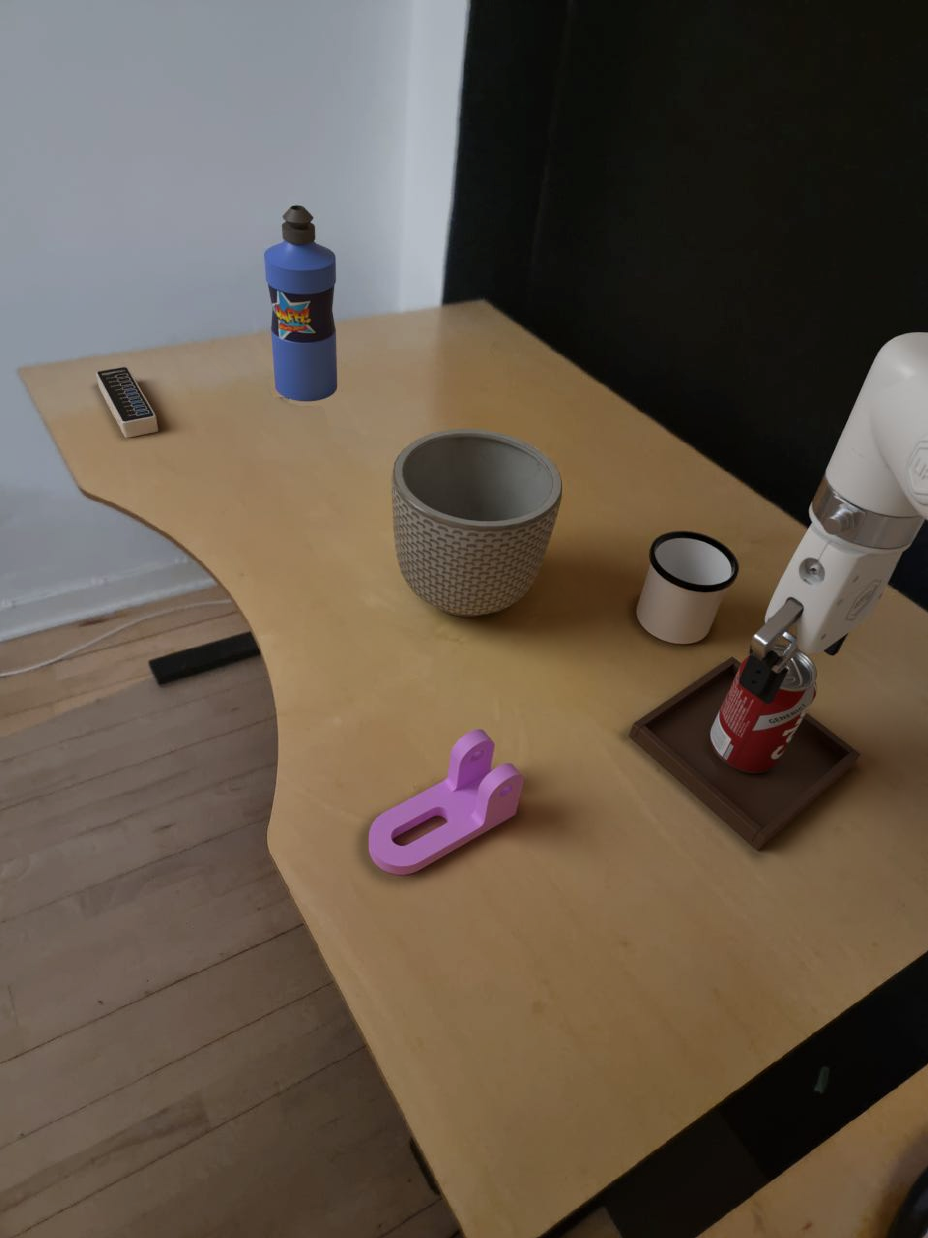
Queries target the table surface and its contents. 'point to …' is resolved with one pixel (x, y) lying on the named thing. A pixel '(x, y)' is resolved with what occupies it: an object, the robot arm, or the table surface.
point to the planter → (472, 518)
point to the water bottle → (302, 310)
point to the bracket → (449, 808)
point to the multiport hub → (127, 402)
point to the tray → (730, 793)
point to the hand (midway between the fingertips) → (788, 668)
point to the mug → (685, 585)
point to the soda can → (763, 717)
